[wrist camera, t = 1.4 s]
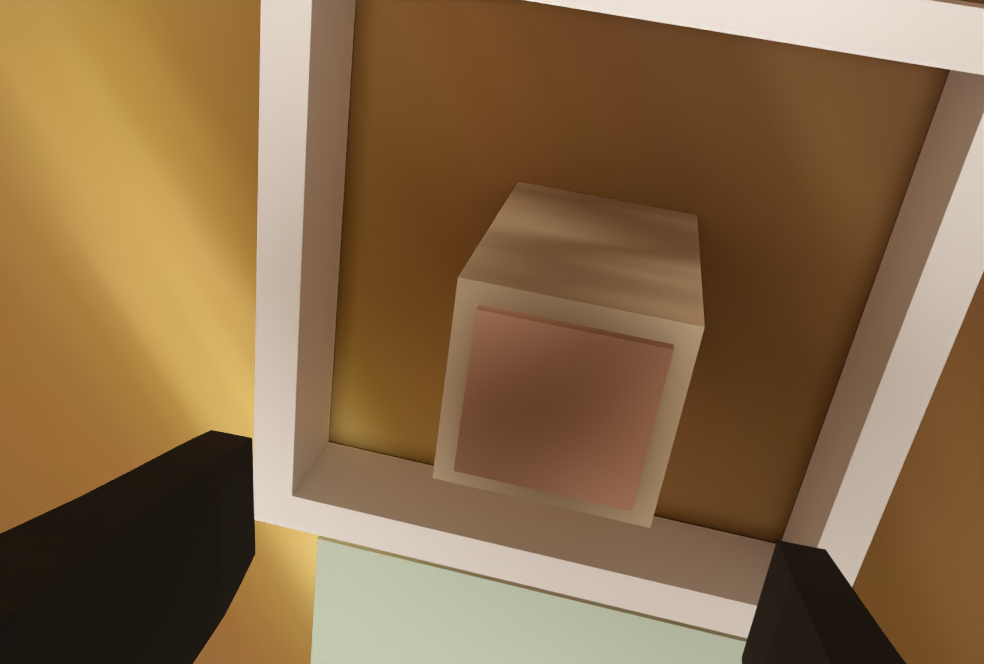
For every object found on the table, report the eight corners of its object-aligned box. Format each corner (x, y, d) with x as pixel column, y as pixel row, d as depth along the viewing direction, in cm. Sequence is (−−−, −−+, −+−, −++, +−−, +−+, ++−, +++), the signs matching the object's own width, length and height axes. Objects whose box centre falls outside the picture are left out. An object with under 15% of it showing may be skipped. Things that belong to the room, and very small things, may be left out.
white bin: (1029, 11, 16) (1086, 24, 14) (808, 584, 22) (823, 656, 20) (314, -99, 18) (262, -103, 16) (291, 464, 24) (252, 519, 22)
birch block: (697, 214, 19) (705, 332, 13) (657, 373, 21) (650, 535, 15) (518, 181, 19) (455, 282, 14) (494, 339, 21) (429, 484, 16)
